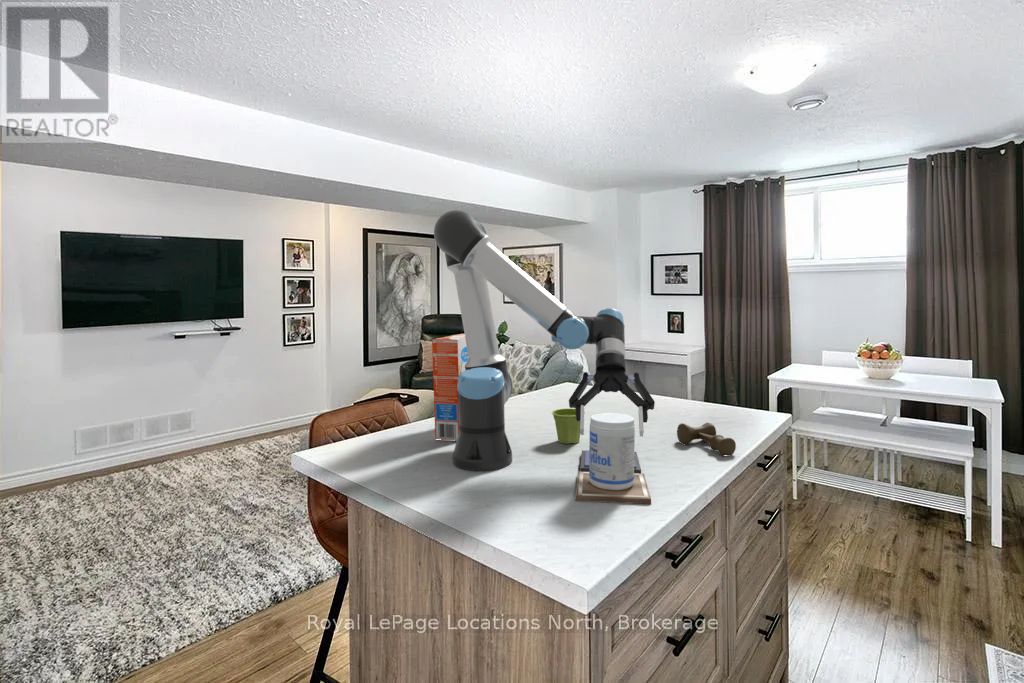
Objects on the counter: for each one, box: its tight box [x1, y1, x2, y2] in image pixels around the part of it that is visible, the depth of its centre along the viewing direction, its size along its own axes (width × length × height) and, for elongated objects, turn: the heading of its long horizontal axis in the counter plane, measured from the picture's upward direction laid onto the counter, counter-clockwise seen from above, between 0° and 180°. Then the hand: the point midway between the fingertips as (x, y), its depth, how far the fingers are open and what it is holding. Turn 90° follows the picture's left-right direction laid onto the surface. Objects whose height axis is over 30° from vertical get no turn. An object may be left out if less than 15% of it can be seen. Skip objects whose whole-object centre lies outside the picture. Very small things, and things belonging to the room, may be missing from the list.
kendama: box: [676, 422, 737, 456], centre depth 142 cm, size 6×10×20 cm
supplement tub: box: [589, 412, 636, 490], centre depth 112 cm, size 10×10×15 cm
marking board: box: [575, 471, 652, 505], centre depth 112 cm, size 15×15×1 cm
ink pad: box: [579, 449, 642, 474], centre depth 128 cm, size 14×14×2 cm
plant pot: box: [551, 408, 586, 445], centre depth 149 cm, size 9×9×9 cm
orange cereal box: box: [431, 333, 469, 441], centre depth 162 cm, size 23×8×30 cm, turn 163°
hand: (611, 432), depth 120 cm, fingers open, 13 cm apart
